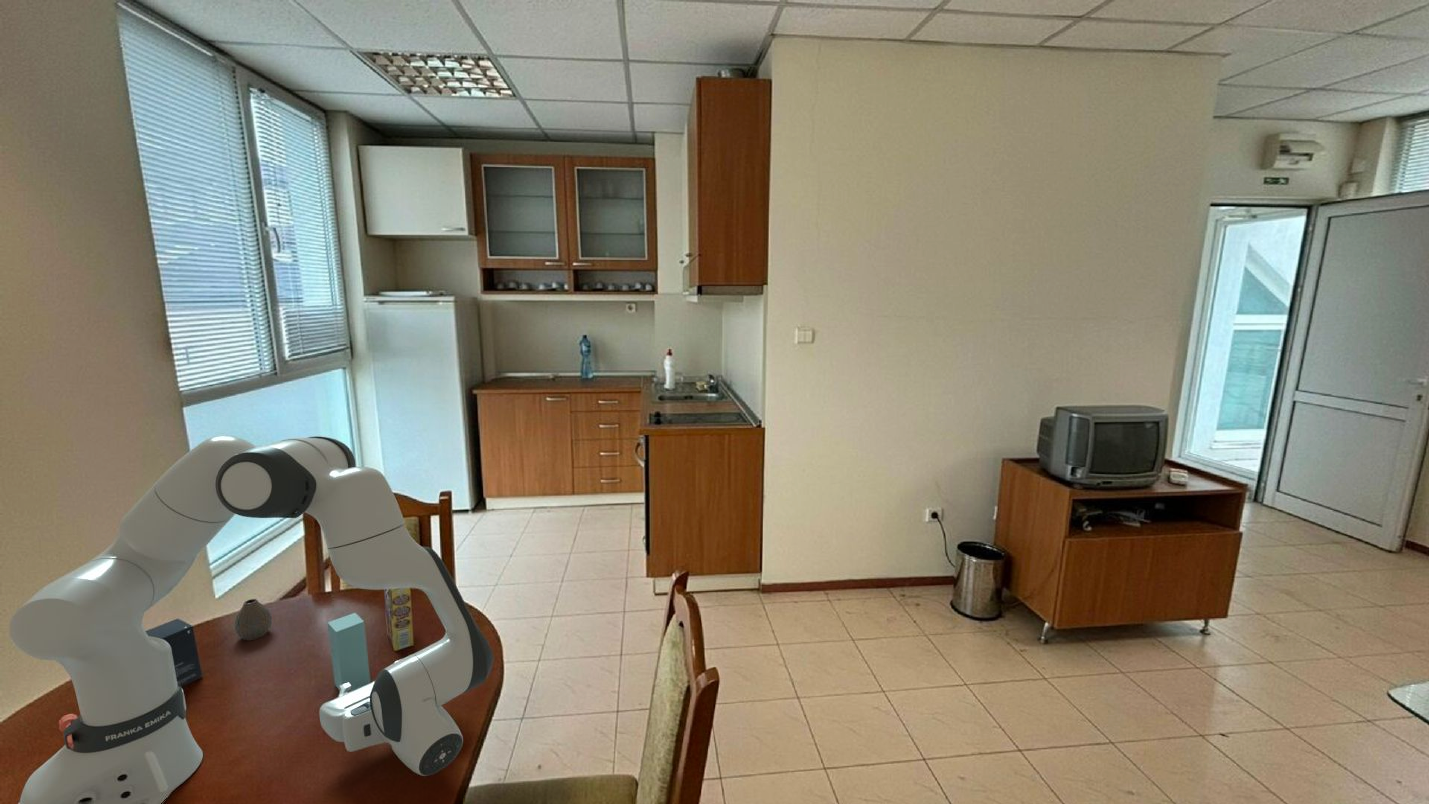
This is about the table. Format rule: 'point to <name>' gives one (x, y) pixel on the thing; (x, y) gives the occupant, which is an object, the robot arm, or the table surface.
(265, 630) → the vase
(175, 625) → the small box
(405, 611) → the candy box
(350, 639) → the teal block
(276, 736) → the table surface
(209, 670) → the table surface
